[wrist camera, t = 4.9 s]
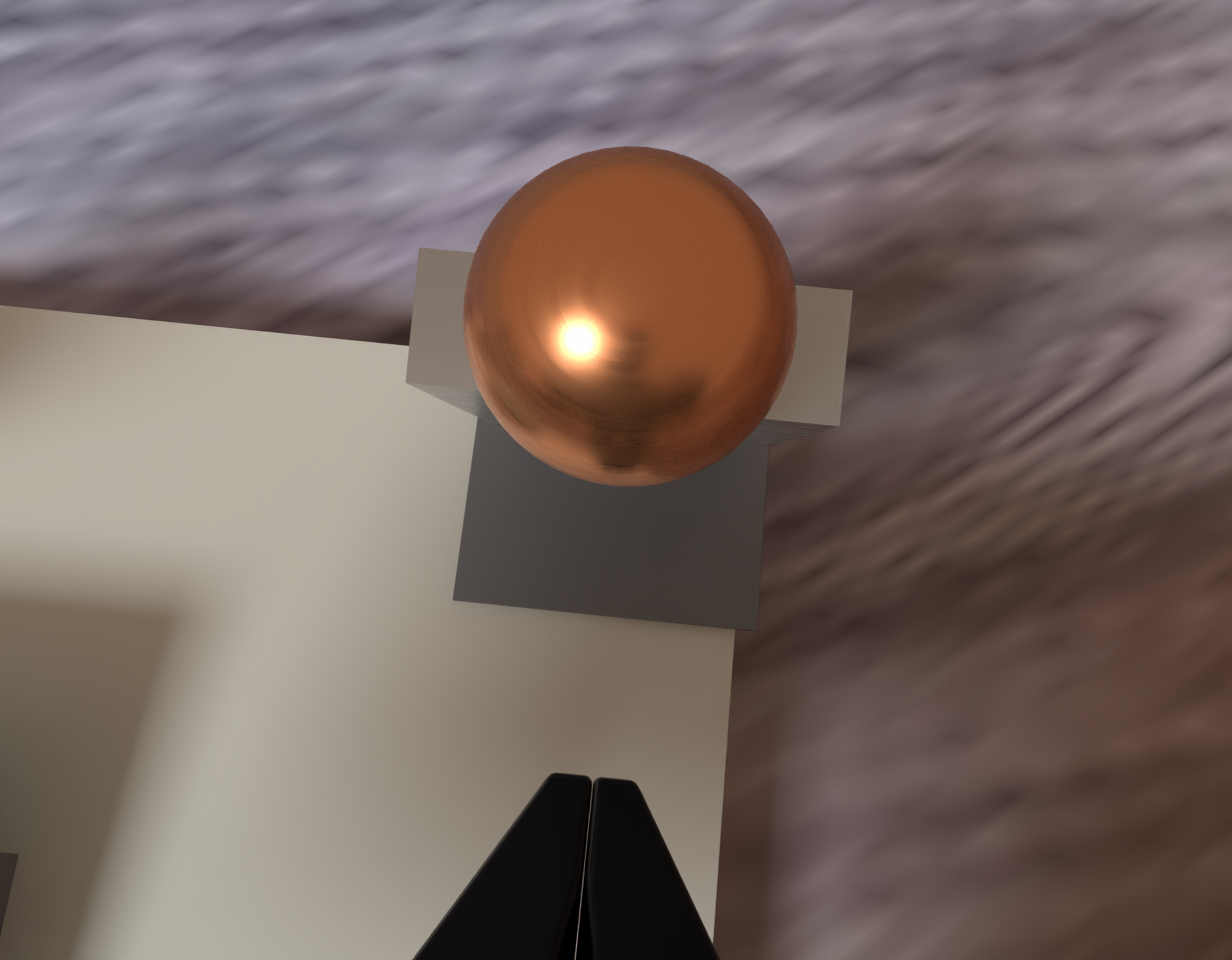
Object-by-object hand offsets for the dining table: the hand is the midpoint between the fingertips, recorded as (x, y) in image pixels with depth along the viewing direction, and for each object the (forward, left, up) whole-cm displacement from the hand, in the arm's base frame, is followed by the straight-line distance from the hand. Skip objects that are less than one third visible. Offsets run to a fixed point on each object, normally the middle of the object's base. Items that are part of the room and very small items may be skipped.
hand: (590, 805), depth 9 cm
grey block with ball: (+5, 0, -4) cm, 6 cm away
